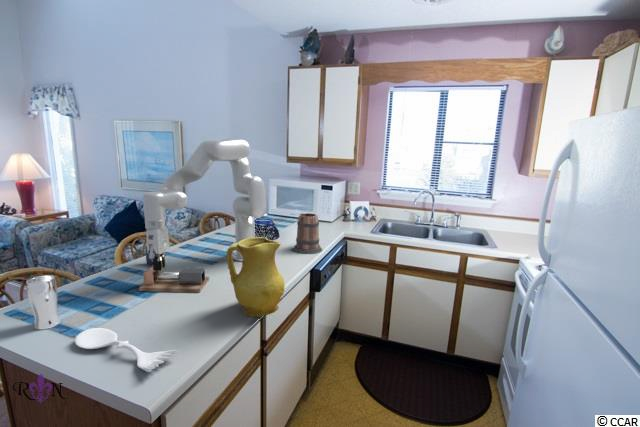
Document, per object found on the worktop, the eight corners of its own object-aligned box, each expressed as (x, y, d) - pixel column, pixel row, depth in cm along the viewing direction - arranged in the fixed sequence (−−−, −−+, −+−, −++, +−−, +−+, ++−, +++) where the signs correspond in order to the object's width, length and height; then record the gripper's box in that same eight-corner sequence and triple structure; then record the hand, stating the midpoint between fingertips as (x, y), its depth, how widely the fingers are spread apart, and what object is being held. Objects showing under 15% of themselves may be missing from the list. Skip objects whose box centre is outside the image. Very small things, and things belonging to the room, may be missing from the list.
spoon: (150, 381, 79) (149, 369, 78) (67, 347, 91) (66, 335, 90) (179, 360, 87) (178, 348, 86) (100, 331, 99) (98, 320, 99)
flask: (165, 264, 153) (163, 242, 151) (160, 266, 151) (159, 244, 149) (149, 262, 156) (147, 240, 154) (144, 264, 153) (142, 242, 151)
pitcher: (262, 325, 104) (260, 249, 100) (222, 311, 114) (219, 241, 110) (294, 305, 118) (294, 238, 115) (256, 294, 128) (254, 232, 125)
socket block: (158, 279, 133) (158, 267, 132) (153, 284, 129) (152, 272, 128) (150, 279, 133) (149, 267, 132) (144, 284, 128) (143, 272, 127)
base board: (209, 279, 138) (208, 276, 138) (200, 292, 126) (199, 288, 126) (153, 279, 137) (153, 275, 137) (139, 291, 125) (138, 287, 125)
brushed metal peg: (188, 278, 133) (187, 256, 131) (185, 281, 130) (184, 258, 128) (151, 277, 132) (149, 255, 130) (147, 280, 129) (146, 257, 127)
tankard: (316, 256, 173) (317, 219, 169) (287, 251, 178) (288, 216, 174) (329, 244, 195) (330, 211, 191) (303, 240, 200) (304, 208, 196)
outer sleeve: (205, 279, 134) (204, 268, 133) (201, 284, 129) (200, 273, 128) (184, 279, 134) (183, 268, 133) (179, 284, 129) (178, 272, 128)
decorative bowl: (285, 236, 209) (286, 214, 206) (264, 243, 193) (264, 219, 190) (262, 231, 220) (262, 210, 217) (240, 237, 203) (240, 214, 200)
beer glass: (43, 318, 104) (37, 274, 101) (66, 318, 105) (61, 274, 102) (26, 331, 97) (18, 284, 94) (51, 330, 98) (44, 283, 95)
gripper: (156, 229, 119) (160, 276, 122) (174, 219, 134) (176, 261, 138) (135, 228, 118) (139, 276, 122) (155, 219, 134) (158, 261, 138)
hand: (159, 268), depth 130 cm, fingers closed on brushed metal peg, 2 cm apart
